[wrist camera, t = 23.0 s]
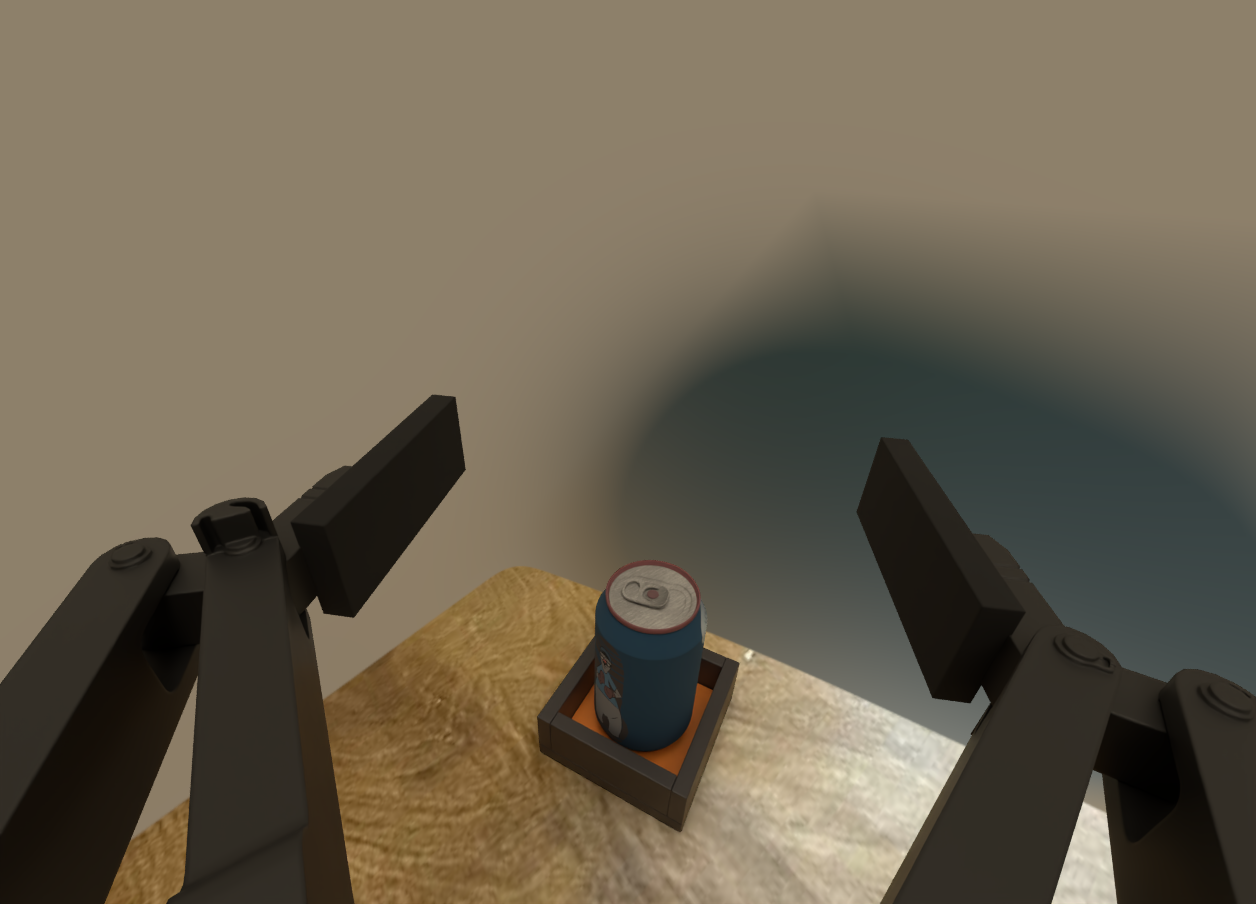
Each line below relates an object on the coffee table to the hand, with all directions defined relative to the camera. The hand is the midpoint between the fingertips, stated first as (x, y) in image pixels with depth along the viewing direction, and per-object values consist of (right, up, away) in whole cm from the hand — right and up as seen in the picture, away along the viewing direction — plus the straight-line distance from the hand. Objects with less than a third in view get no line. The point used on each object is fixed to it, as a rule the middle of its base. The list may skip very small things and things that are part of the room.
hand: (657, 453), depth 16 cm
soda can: (0, -19, +21) cm, 28 cm away
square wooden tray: (0, -20, +22) cm, 29 cm away
